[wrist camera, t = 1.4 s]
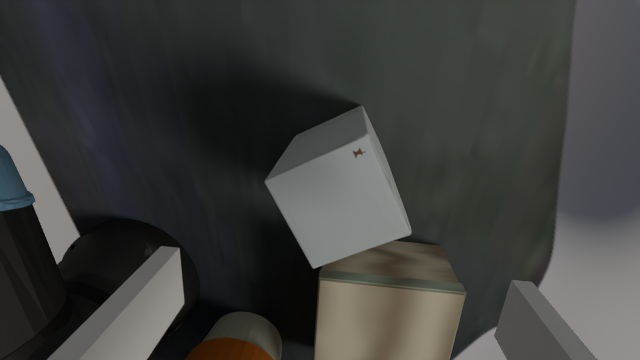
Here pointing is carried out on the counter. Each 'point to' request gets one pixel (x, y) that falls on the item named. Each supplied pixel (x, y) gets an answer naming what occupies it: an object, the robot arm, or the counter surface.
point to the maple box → (388, 305)
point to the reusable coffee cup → (239, 339)
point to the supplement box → (338, 190)
